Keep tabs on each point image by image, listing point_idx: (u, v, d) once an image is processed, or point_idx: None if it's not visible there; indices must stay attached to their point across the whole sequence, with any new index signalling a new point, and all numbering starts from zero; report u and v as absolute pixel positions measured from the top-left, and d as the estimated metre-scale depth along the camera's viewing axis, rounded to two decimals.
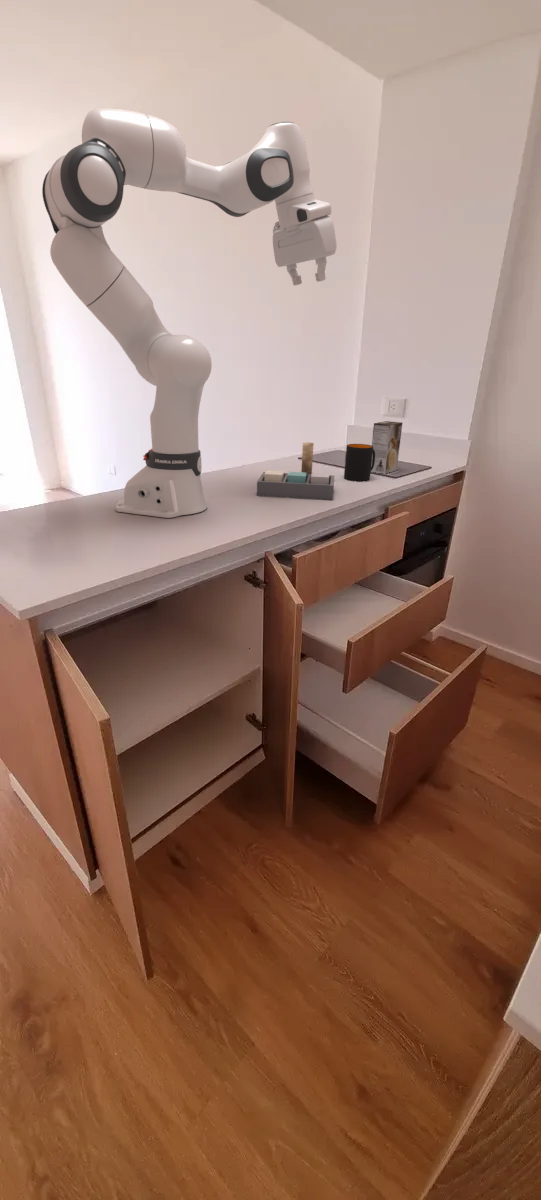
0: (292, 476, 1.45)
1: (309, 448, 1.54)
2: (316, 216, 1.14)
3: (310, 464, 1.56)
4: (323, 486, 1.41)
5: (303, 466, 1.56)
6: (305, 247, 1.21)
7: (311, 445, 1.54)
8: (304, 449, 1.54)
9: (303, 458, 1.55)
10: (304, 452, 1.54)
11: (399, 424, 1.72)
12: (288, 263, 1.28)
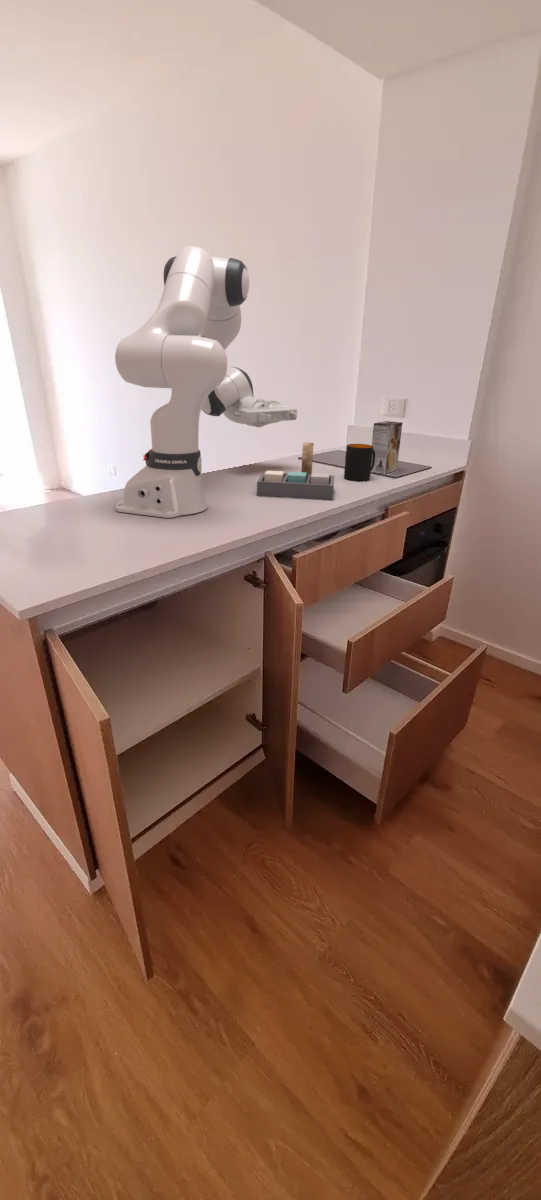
0: (292, 476, 1.45)
1: (309, 448, 1.54)
2: None
3: (310, 464, 1.56)
4: (323, 486, 1.41)
5: (303, 466, 1.56)
6: (277, 408, 1.67)
7: (311, 445, 1.54)
8: (304, 449, 1.54)
9: (303, 458, 1.55)
10: (304, 452, 1.54)
11: (399, 424, 1.72)
12: (262, 410, 1.61)
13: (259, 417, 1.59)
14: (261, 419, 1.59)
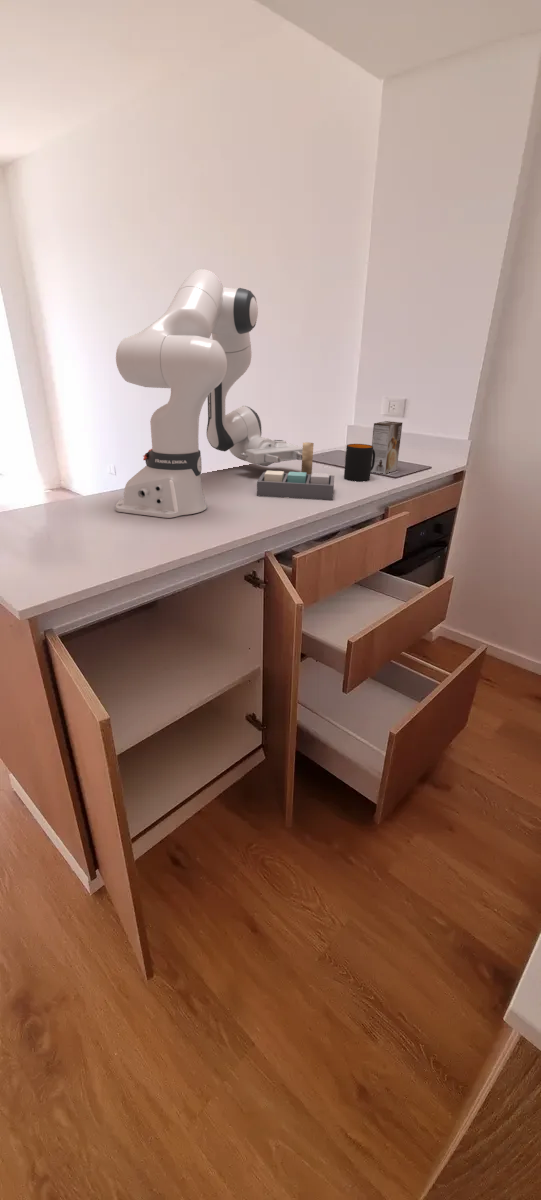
0: (292, 476, 1.45)
1: (309, 448, 1.54)
2: None
3: (310, 464, 1.56)
4: (323, 486, 1.41)
5: (303, 466, 1.56)
6: (283, 448, 1.69)
7: (311, 445, 1.54)
8: (304, 449, 1.54)
9: (303, 458, 1.55)
10: (304, 452, 1.54)
11: (399, 424, 1.72)
12: (269, 451, 1.63)
13: (266, 458, 1.61)
14: (268, 460, 1.61)
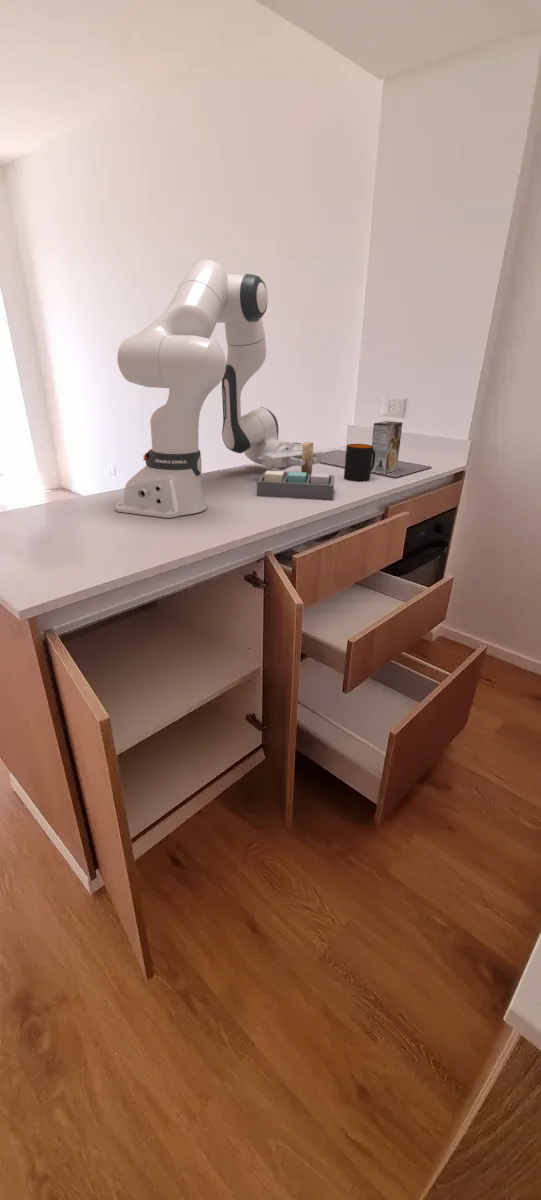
0: (292, 476, 1.45)
1: (309, 448, 1.54)
2: None
3: (310, 464, 1.56)
4: (323, 486, 1.41)
5: (303, 466, 1.56)
6: (301, 451, 1.63)
7: (311, 445, 1.54)
8: (304, 449, 1.54)
9: (303, 458, 1.55)
10: (304, 452, 1.54)
11: (399, 424, 1.72)
12: (287, 455, 1.56)
13: (290, 461, 1.57)
14: (292, 464, 1.56)
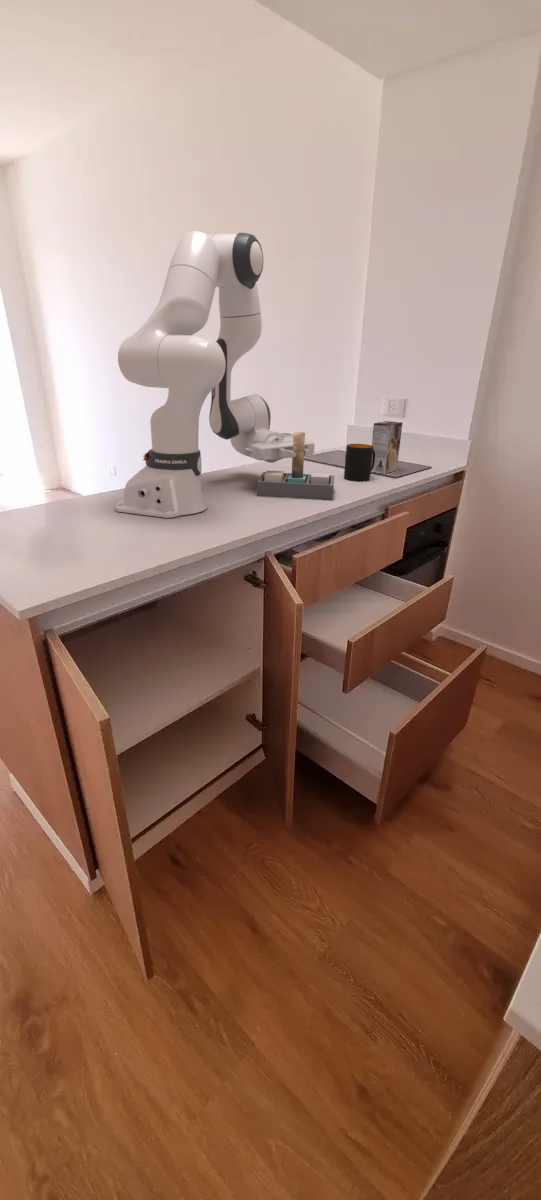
0: (292, 479, 1.45)
1: (300, 438, 1.41)
2: None
3: (301, 456, 1.44)
4: (323, 486, 1.41)
5: (294, 458, 1.44)
6: (292, 442, 1.50)
7: (302, 435, 1.41)
8: (295, 439, 1.42)
9: (294, 449, 1.43)
10: (295, 443, 1.42)
11: (399, 424, 1.72)
12: (276, 446, 1.44)
13: (280, 453, 1.44)
14: (282, 455, 1.44)
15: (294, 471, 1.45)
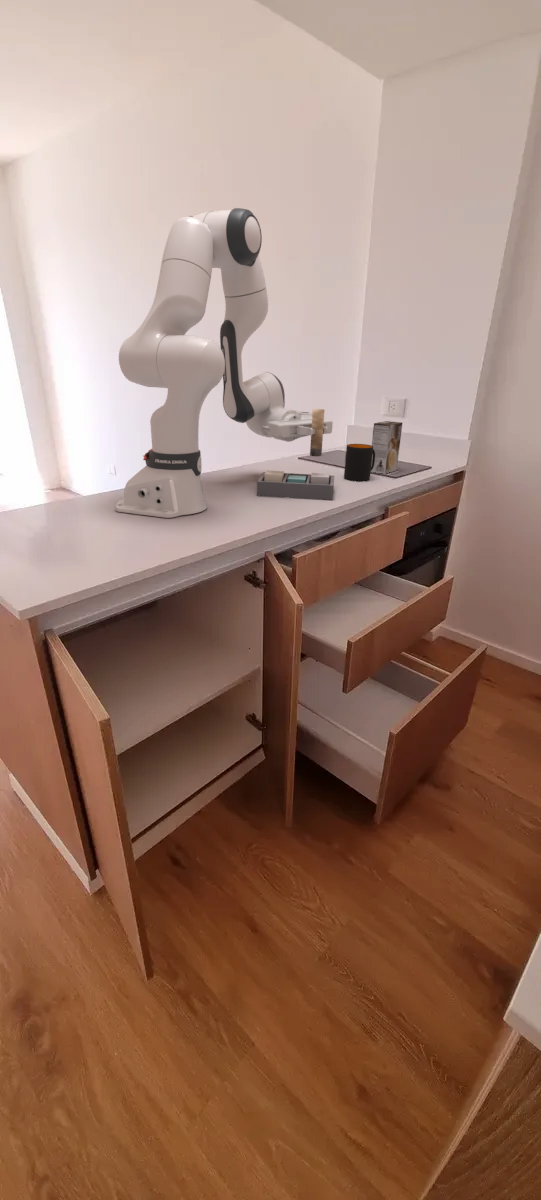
0: (292, 480, 1.45)
1: (320, 414, 1.38)
2: None
3: (321, 433, 1.41)
4: (323, 486, 1.41)
5: (313, 435, 1.41)
6: (310, 420, 1.47)
7: (322, 411, 1.38)
8: (314, 416, 1.39)
9: (313, 426, 1.40)
10: (314, 420, 1.39)
11: (399, 424, 1.72)
12: (295, 423, 1.41)
13: (299, 430, 1.41)
14: (301, 433, 1.41)
15: (312, 449, 1.43)
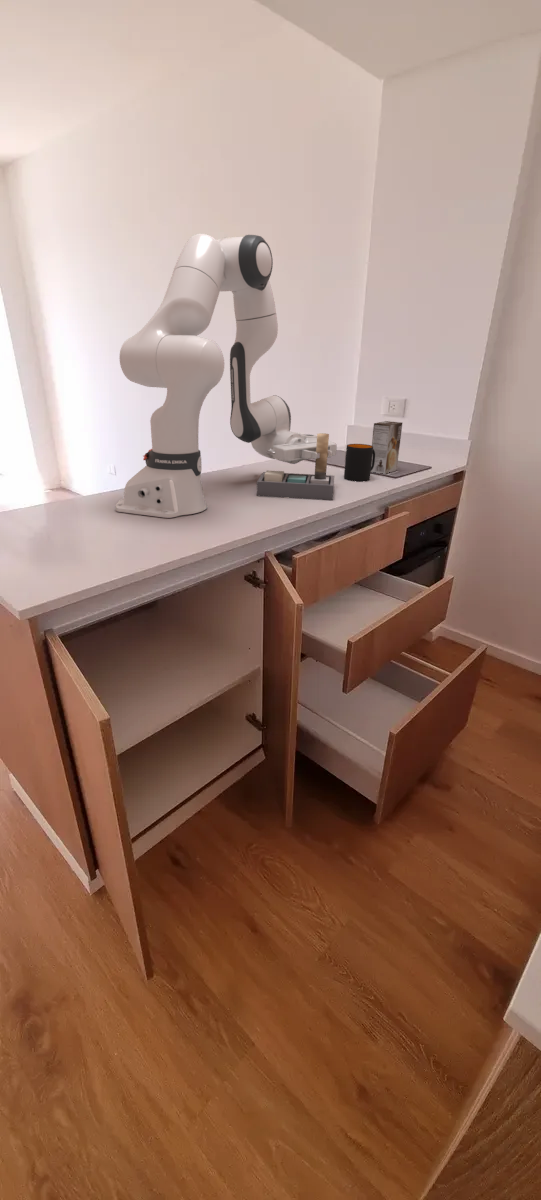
0: (292, 480, 1.45)
1: (324, 439, 1.41)
2: None
3: (325, 457, 1.43)
4: (323, 486, 1.41)
5: (317, 459, 1.43)
6: (315, 443, 1.49)
7: (326, 436, 1.40)
8: (319, 440, 1.41)
9: (317, 450, 1.42)
10: (319, 444, 1.41)
11: (399, 424, 1.72)
12: (300, 447, 1.43)
13: (304, 454, 1.44)
14: (306, 457, 1.43)
15: (317, 472, 1.45)
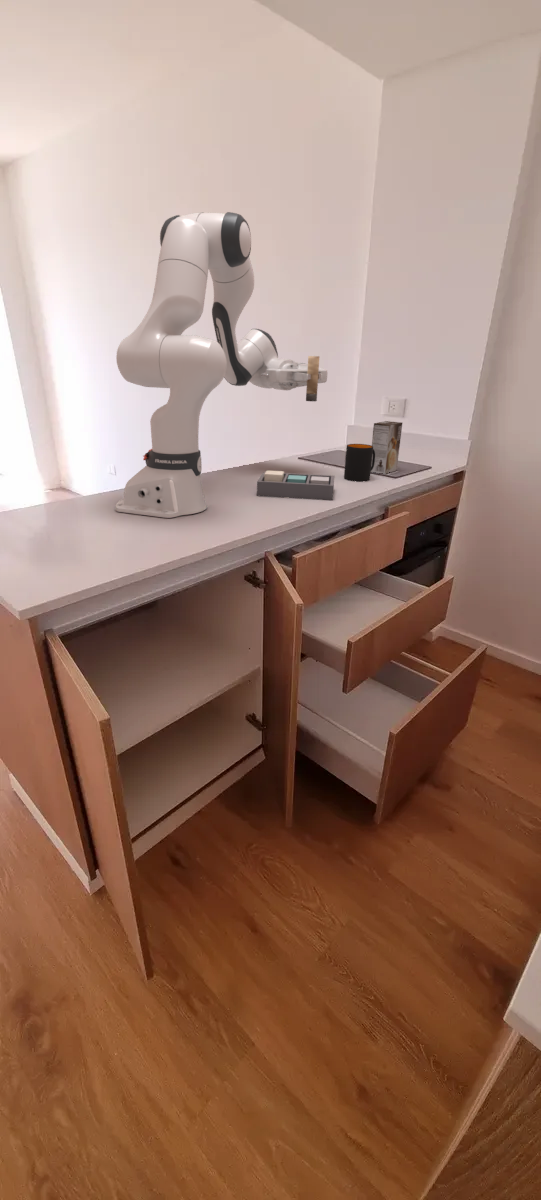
0: (292, 480, 1.45)
1: (315, 360, 1.48)
2: None
3: (316, 379, 1.50)
4: (323, 486, 1.41)
5: (308, 381, 1.51)
6: None
7: (317, 358, 1.48)
8: (310, 362, 1.49)
9: (308, 372, 1.50)
10: (310, 366, 1.49)
11: (399, 424, 1.72)
12: (292, 369, 1.51)
13: (295, 376, 1.51)
14: (298, 378, 1.51)
15: (308, 394, 1.52)
